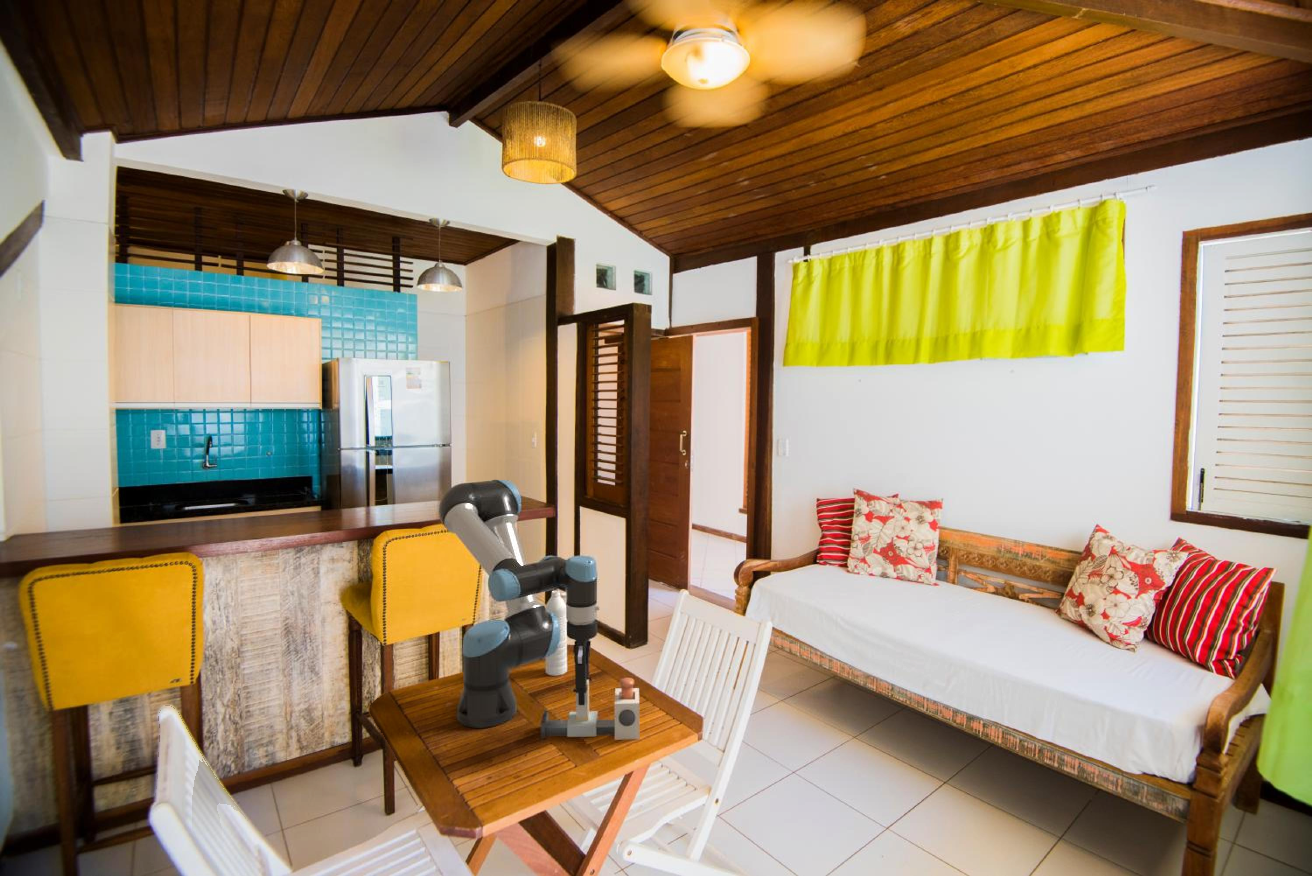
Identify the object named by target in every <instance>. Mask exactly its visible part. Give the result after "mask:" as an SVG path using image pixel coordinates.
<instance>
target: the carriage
mask: <svg viewBox="0 0 1312 876" xmlns="http://www.w3.org/2000/svg"><path fill="white" fill-rule="evenodd" d="M587 691H588V716H587V717H576V711H569V714H568V715H569V716H568V718H567V720H568V724H567V736H566V737H567V738H572V737H573V738H574V737H575V738H576V737H577V738H579V737H583V738H584V737H597V735H596V725H597V720H599V717H598V715H599V714H598V713H599V711H597V710H594V711H593V710H591V711H590V681H589V680H587Z"/></svg>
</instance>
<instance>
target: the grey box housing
mask: <svg viewBox="0 0 1312 876" xmlns="http://www.w3.org/2000/svg"><path fill="white" fill-rule="evenodd" d="M614 689H615V692H614V719H615V735H614V740H615V741H616V740H617V741H618V740H620V741H621V740H640V688H639V687H633V699H629V700H621V687H619V688H617V687H615V688H614Z"/></svg>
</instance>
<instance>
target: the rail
mask: <svg viewBox="0 0 1312 876" xmlns="http://www.w3.org/2000/svg"><path fill="white" fill-rule="evenodd" d="M543 711H544V712H543V714H542V718H541V722H540V739H541V740H546V737H567V724H568V719H567V720H565V719H563V720H549V710H543ZM596 736H615V718H614V719H598V720H597V725H596Z"/></svg>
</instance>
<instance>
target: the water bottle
mask: <svg viewBox="0 0 1312 876" xmlns="http://www.w3.org/2000/svg"><path fill="white" fill-rule="evenodd" d="M560 592H561V590H559V589H554V590H551V594H550V595H551V596H550V598H549V599H548V601H547V603H546V604H545V609H546V612H550V613H553V614H554V615H555V617H556V618H557V619H558V622H559V625H560V633H561V635H560V642H559V646H558V649H557V650H556V652H555V653H554V654H552V655H551V656H548V657H545V674H546V675H549V676H555V677H556V676H561V675H565V673H567V672H568V644H567V643H568V639H567V638H568V636H567V621H568V620H567V619H566V602H565V600H564V599H566V592H561V593H560Z"/></svg>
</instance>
